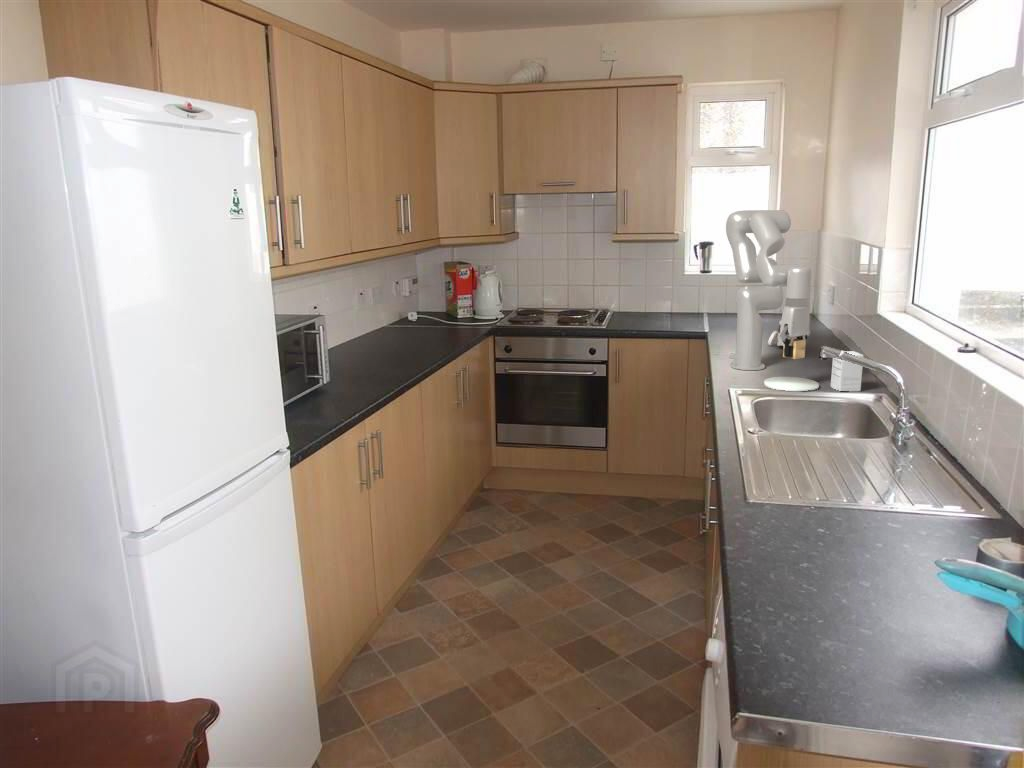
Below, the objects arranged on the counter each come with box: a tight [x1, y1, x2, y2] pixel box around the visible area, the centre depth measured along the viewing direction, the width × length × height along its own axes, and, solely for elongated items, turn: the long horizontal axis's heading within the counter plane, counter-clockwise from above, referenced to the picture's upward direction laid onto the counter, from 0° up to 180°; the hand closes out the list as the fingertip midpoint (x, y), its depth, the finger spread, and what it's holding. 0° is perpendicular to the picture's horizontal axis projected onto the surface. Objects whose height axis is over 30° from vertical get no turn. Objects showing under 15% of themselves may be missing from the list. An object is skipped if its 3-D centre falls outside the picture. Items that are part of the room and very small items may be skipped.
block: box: [782, 338, 807, 360], centre depth 263 cm, size 5×5×6 cm
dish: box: [763, 376, 820, 392], centre depth 267 cm, size 18×18×1 cm
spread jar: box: [767, 320, 797, 350], centre depth 333 cm, size 12×11×12 cm
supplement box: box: [830, 350, 864, 392], centre depth 260 cm, size 7×7×13 cm
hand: (793, 355), depth 264 cm, fingers closed on block, 5 cm apart
